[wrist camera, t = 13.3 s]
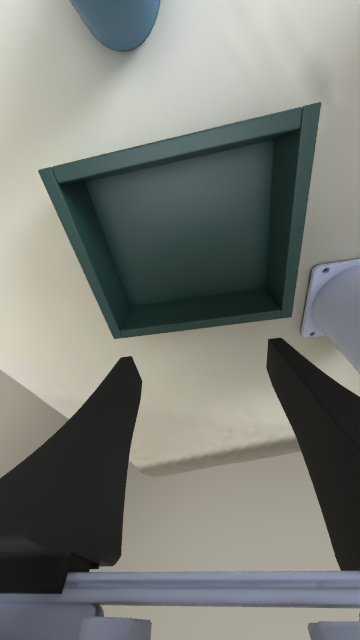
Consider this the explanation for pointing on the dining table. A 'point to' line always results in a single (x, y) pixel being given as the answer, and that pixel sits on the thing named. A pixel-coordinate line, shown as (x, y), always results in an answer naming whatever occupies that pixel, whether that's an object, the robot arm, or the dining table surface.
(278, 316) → the bin
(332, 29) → the dining table surface
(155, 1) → the bottle
